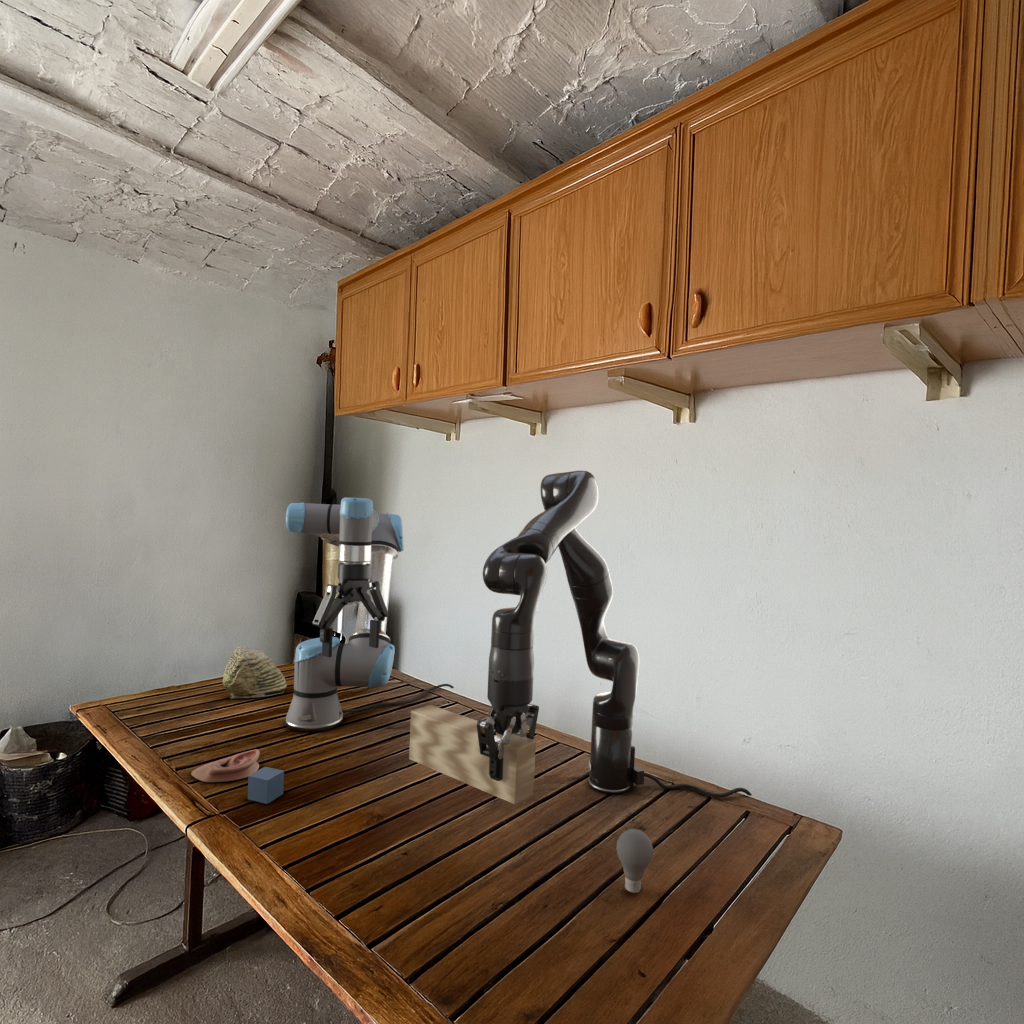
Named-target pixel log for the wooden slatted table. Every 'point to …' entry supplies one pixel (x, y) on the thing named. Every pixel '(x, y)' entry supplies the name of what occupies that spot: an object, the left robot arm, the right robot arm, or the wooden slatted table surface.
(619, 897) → the wooden slatted table surface
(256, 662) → the fossil
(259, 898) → the wooden slatted table surface
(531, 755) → the ash bar
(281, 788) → the slate blue block
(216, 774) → the anatomical model
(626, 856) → the light bulb
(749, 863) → the wooden slatted table surface
